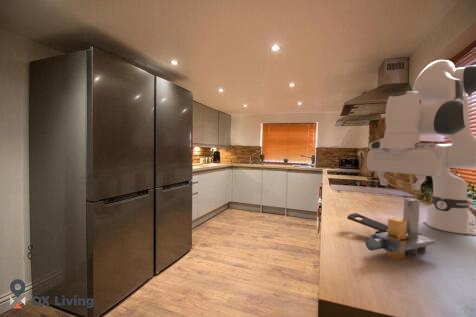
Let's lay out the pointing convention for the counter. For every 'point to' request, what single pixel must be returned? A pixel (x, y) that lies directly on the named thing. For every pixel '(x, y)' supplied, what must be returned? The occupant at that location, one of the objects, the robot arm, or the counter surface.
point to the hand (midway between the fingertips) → (398, 187)
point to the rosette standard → (412, 235)
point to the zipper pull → (376, 226)
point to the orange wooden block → (397, 235)
